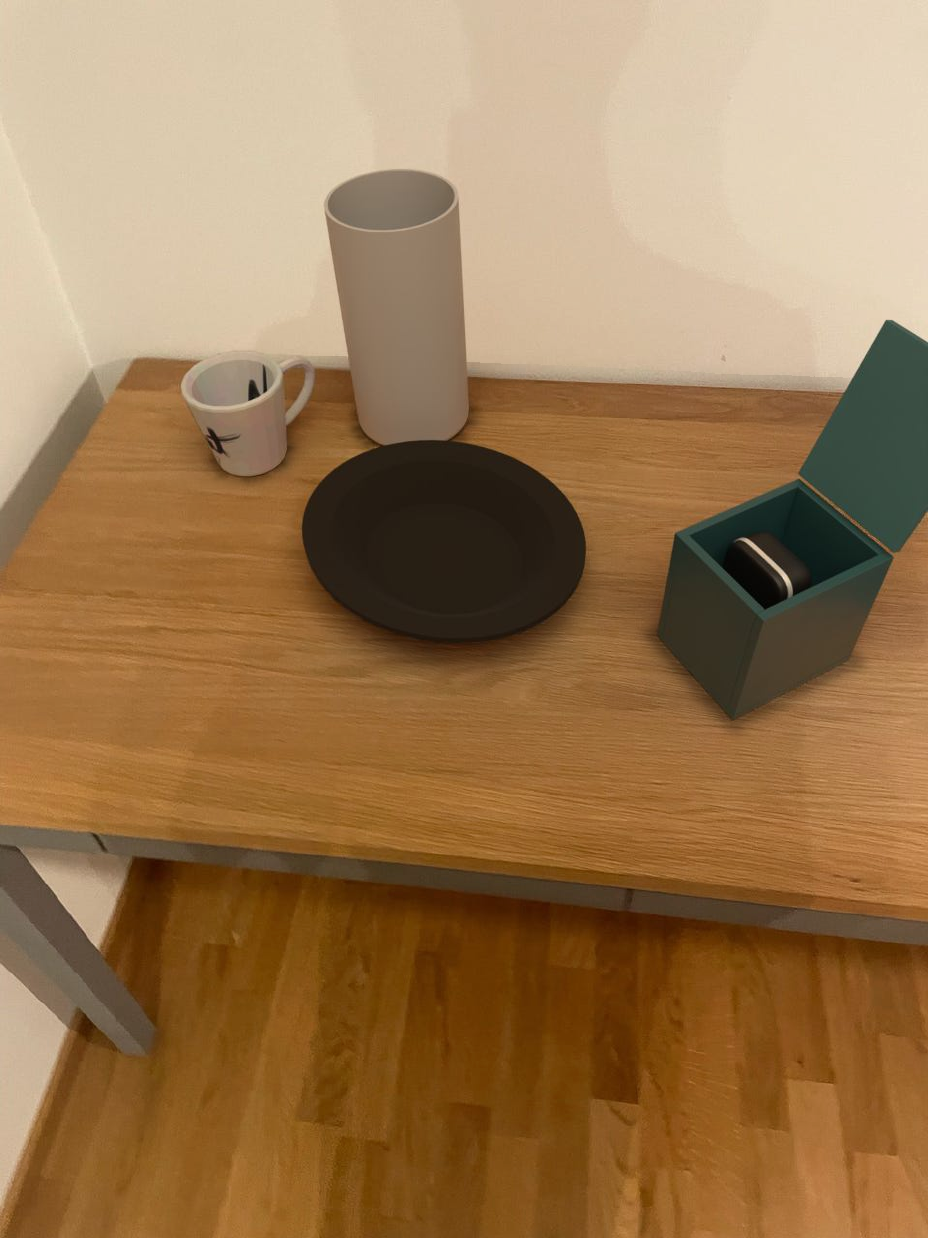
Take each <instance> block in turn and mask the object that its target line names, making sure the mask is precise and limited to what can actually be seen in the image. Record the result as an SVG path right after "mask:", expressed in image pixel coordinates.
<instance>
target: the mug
mask: <svg viewBox="0 0 928 1238" xmlns="http://www.w3.org/2000/svg"><path fill="white" fill-rule="evenodd" d="M294 368H301V369H302V370H303V371H304V381H303V385H302V388H301V390H300V392H299V394H298V396H297V397H296V399H295V401H294V402H293V403H292V405H291V406H290V407H289V408H288V409H287V410H286V401H285V400H286V399H285V380H284V375H285V374H287V373H288V372H289V371H291V370H292V369H294ZM315 382H316V369H315V366H314V365H313V364H312V363H311V362H310V360H309V359H308V358H307V357H304V356H300V355H296V356H292V357H288V358H286V359H284V360H282V361H280V362H279V363H278V361H277V360H276V359H275V358H274V357H272V356H270V355H268V354H265V353H264V352H260V351H259V352H258V351H254V350H231V351H225V352H220V353H217V354H214V355H212V356H209V357H205V358H204V359H202V360H201V361H199V362H197V363H196V364H194V365H193V366H192V367H191V368H190V369H189V370H188V371H187V372H186V373H185V374H184V376H183V378H182V381H181V384H180V391H181V397H182V398H183V400H184V402H185V404H186V406H187V408H188V409H189V412H190V413H191V415H192V417H193V419H194V421H195V423H196V424H197V427H198V428H199V430H200V432H201V434H202V436H203V438H204V439H205V441H206V444H207V445H208V447H209V449H210V451H211V452H212V454H213V456H214V458H215V460H216V462H217V464H218V465H219V466H220V467H221V469H222V470H223V471H224V472H226V473H228V474H230V475H233V476H238V477H255V476H260V475H263V474H265V473H268V472H271V471H272V470H274V469H275V468H276V467H278V466H279V465H280V464H281V463H282V462H283V460H284V459H285V458H286V454H287V450H288V446H287V445H288V440H287V426H289V425H290V424H291V423H292V422H293V421H294V420H295V419H296V418H297V417H298V415H300V413H301V412H302V410H303V409H304V408H305V406H306V404H307V403H308V401H309V399H310V398H311V395H312V393H313V391H314V387H315Z"/></svg>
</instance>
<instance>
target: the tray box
mask: <svg viewBox="0 0 928 1238" xmlns="http://www.w3.org/2000/svg"><path fill="white" fill-rule="evenodd" d="M760 531H765V532H768V533H770V534H771V535H773V536H774V537H775V538H776V539H777V540H779V541H780V542H781V543H782V544H783V545H784V546H785V547H787V548H788V549H789V550H790V551H791V552H792V553H793V554H794V555H795V556H796V557H798V558H799V559H800V560H801V561H802V562H803V563H804V564H805V565H806V566H807V567H808V569H809V571H810V573H811V576H812V584H811V588H809V589H807V590H805V591H803V592H801V593H799V594H797V595H795V596H792V597H790V598H788V599H786V600H784V601H782V602H780V603H778V604H776V605H774V606H772V607H770V608H768V609H766V610H764V608H763V607H762V606H761V605H760V604H759V603H758V602H757V601H755V600H754V599H753V598H752V597H751V596H750V595H749V594H748V593H747V592H746V591H745V590H744V589H743V588H742V587H741V586H740V585H739V584H738V583H737V582H736V581H735V580H734V579H733V578H732V577H731V576H730V575H729V574H728V573H727V572H726V571H725V570H724V569H723V568H722V566H723V562H724V558H725V555H726V551H727V549H728V547H729V546H730V545H731V544H732V543H733V542H734V541H735V540H737V539H739V538H744V537H746V536H748V535H751V534H753V533H756V532H760ZM894 558H895V557H894V555H892V554H891V552H889V551H887V550H886V549H885V548H884V547H883V546H881V544H879V543H878V542H877V541H876V540H874V539H873V538H872V537H871V536H869V535H868V534H867V533H866V532H865V531H863V530H862V529H861V528H860V527H858V526H857V525H856V524H855V523H854V522H852V521H851V520H850V519H849V518H848V517H846V516H845V515H844V514H843V513H842V512H840V511H839V510H838V509H837V508H835V507H834V506H833V504H831V503H830V502H828V500H826V499H825V498H823V496H821V495H820V494H818V493H817V491H815V490H814V489H813V488H812V487H810V486H809V485H808V484H806V482H805V481H803V480H802V479H800V478H796V479H795V480H792V481H790V482H788V483H785V484H783V485H780V486H778V487H776V488H774V489H771V490H769V491H767V492H764V493H763V494H761V495H758V496H756V497H753V498H751V499H749V500H747V501H745V502H742V503H740V504H738V505H735V506H733V507H730V508H728V509H726V510H724V511H721V512H719V513H717V514H715V515H712V516H710V517H708V518H706V519H703V520H701V521H699V522H696V523H694V524H692V525H690V526H687V527H684V528H683V529H680V530H679V531H676V532H675V533H674V537H673V542H672V548H671V553H670V558H669V559H670V560H669V565H668V571H667V576H666V582H665V588H664V592H663V597H662V598H663V599H662V602H661V603H662V604H661V608H660V609H661V610H660V616H659V620H658V627H657V631H656V636H657V638H658V639H659V640H660V641H661V642H662V643H663V644H664V645H665V647H666V648H668V650H669V651H670V652H671V653H672V654H673V655H674V657H675V658H676V659H677V660H678V661H679V662H680V663H681V665H682V666H683V667H684V668H685V669H686V670H687V671H688V672H689V674H690V675H691V676H692V677H693V678H694V679H695V680H696V681H697V682H698V683H699V685H700V686H701V687H702V688H703V689H704V690H705V691H706V693H708V695H709V696H710V697H711V698H712V700H714V702H715V703H716V704H717V705H718V706H719V707H720V708H721V709H722V711H724V713H725V714H726V715H727V716H728V717H729V718H730V720H732V721H734V720H736V719H738V718H740V717H742V716H744V715H746V714H748V713H750V712H752V711H754V710H756V709H757V708H760V707H761V706H763V705H765V704H767V703H769V702H771V701H773V700H775V699H777V698H778V697H779V698H780V697H781V696H782V695H784V694H786V693H788V692H790V691H793V690H794V689H796V688H798V687H800V686H801V685H804V684H805V683H808V682H810V681H812V680H814V679H816V678H817V677H819V676H821V675H823V674H825V673H827V672H829V671H831V670H833V669H835V668H836V667H839V666H840V665H843V664H844V663H846V662H848V661H850V658H851V656H852V654H853V651H854V649H855V647H856V645H857V643H858V641H859V638H860V636H861V633H862V631H863V629H864V626H865V625H866V622H867V619H868V617H869V615H870V613H871V611H872V609H873V606H874V604H875V601H876V600H877V598H878V595H879V593H880V591H881V588H882V586H883V584H884V582H885V579H886V576H887V574H888V572H889V570H890V567H891V565H892V564H893V561H894Z"/></svg>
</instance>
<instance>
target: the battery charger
mask: <svg viewBox="0 0 928 1238" xmlns="http://www.w3.org/2000/svg"><path fill="white" fill-rule="evenodd" d="M722 568H723V569H724V570H725V571H726V572H727V573H728V574H729V575H730V576H731V577H732V578H733V579H734V580H735V581H736V582H737V583H738V584H739V585H740V586H741V587H742V588H743V589H744V590H745V591H746V592H747V593H748V594H749V595H750V596H751V597H752V598H753V599H754V600H755V601H757V602H758V603H759V604H760V605H761V606H762V607H763V608H764V610H766V609H768V608H770V607H772V606H774V605H776V604H778V603H780V602H782V601H784V600H786V599H788V598H790V597H792V596H795V595H797V594H799V593H801V592H803V591H805V590H807V589H809V588H811V584H812V576H811V573H810V571H809V569H808V567H807V566H806V565H805V564H804V563H803V562H802V561H801V560H800V559H799V558H798V557H796V556H795V555H794V554H793V553H792V552H791V551H790V550H789V549H788V548H787V547H785V546H784V545H783V544H782V543H781V542H780V541H779V540H777V539H776V538H775V537H774V536H773V535H771V534H770V533H768V532H765V531H760V532H756V533H753V534H751V535H748V536H746V537H744V538H739V539H737V540H735V541H734V542H733V543H732V544H731V545H730V546H729V547H728V549H727V551H726V555H725V558H724V562H723V566H722Z"/></svg>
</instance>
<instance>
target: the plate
mask: <svg viewBox="0 0 928 1238" xmlns="http://www.w3.org/2000/svg"><path fill="white" fill-rule="evenodd" d="M301 523H302V524H301V537H302V544H303V549H304V553H305V555H306V559H307V562H308V564H309V566H310V568H311V571H312V572H313V574H314V576H315V577H316V579H317V581H318V582H319V584H320V585H321V586H322V587H323V588H324V590H325V591H326V592H327V593H328V594H329V595H330V596H331V597H332V599H334V600H335V601H336V602H337V603H338V604H340V605H341V606H342V607H343V608H345V610H347V611H349V612H350V613H351V614H353V615H354V616H356V617H358V618H359V619H362V620H363V621H364V622H366V623H368V624H370V625H373V626H375V627H377V628H379V629H381V630H383V631H386V632H388V633H389V632H390V633H392V634H395V635H398V636H402V637H405V638H409V639H412V640H413V639H414V640H418V641H422V642H430V643H439V644H452V645H453V644H454V645H457V644H461V645H462V644H476V643H478V644H479V643H485V642H492V641H497V640H501V639H505V638H509V637H513V636H515V635H518V634H521V633H523V632H525V631H528V630H530V629H532V628H535V627H537V626H538V625H540V624H542V623H543V622H545V621H547V620H549V618H551V617H553V616H554V615H555V614H556V613H558V611H559V610H560V609H561V608H563V607H564V606H565V605H566V603H567V602H568V601H569V600H570V599H571V597H572V596H573V595H574V593H575V592H576V590H577V588H578V586H579V584H580V582H581V580H582V578H583V573H584V570H585V565H586V555H587V541H586V535H585V531H584V530H585V529H584V527H583V524H582V521H581V519H580V516H579V515H578V513H577V511H576V509H575V507H574V506H573V504H572V502H571V501H570V500H569V499H568V497H567V496H566V495H565V493H563V491H562V490H561V489H560V488H559V487H558V486H557V485H556V484H555V483H553V482H552V481H551V480H550V479H549V478H548V477H546V476H545V475H544V474H542V473H541V472H539V471H538V470H536V468H533V467H532V466H531V465H529V464H527V463H525V462H523V461H521V460H519V459H517V458H515V457H513V456H511V455H508V454H506V453H504V452H500V451H497V450H496V449H492V448H488V447H486V446H482V445H477V444H474V443H473V444H472V443H468V442H461V441H453V440H447V441H445V440H417V441H406V442H400V443H394V444H389V445H385V446H384V445H381V446H378V447H375V448H372V449H369V450H366V451H364V452H361V453H359V454H357V455H355V456H352V457H351V458H349V459H347V460H346V461H344V462H342V463H341V464H340V465H338V466H337V467H335V468H334V469H333V470H331V471H330V472H329V473H327V475H325V477H324V478H322V480H321V481H320V482H319V483H318V485H317V486H316V487H315V488H314V490H313V492H312V493H311V495H310V497H309V499H308V501H307V503H306V505H305V508H304V511H303V515H302V522H301Z"/></svg>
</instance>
